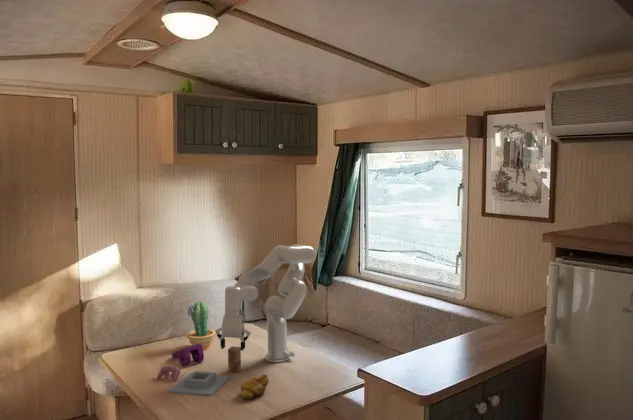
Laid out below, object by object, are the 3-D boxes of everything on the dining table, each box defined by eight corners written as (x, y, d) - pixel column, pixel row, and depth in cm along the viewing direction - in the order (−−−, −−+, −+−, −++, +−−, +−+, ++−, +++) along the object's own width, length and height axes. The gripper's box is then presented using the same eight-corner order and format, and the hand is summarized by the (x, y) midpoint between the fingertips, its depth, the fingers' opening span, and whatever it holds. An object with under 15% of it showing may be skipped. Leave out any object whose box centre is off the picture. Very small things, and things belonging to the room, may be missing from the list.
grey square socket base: (230, 377, 234) (230, 369, 233) (212, 396, 214) (211, 387, 214) (189, 374, 238) (189, 366, 238) (168, 392, 218) (168, 383, 218)
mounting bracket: (172, 372, 257) (187, 365, 245) (168, 355, 259) (183, 347, 247) (189, 367, 263) (205, 360, 251) (185, 350, 266) (201, 343, 253)
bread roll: (250, 403, 207) (249, 384, 207) (233, 397, 213) (232, 378, 212) (271, 392, 217) (270, 373, 217) (254, 387, 223) (254, 369, 223)
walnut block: (240, 369, 243) (240, 347, 243) (237, 373, 239) (237, 350, 238) (232, 369, 244) (231, 346, 244) (228, 372, 240) (227, 349, 239)
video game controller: (179, 382, 232) (183, 367, 235) (174, 381, 228) (177, 365, 231) (161, 380, 235) (164, 364, 238) (155, 379, 231) (159, 363, 234)
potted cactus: (193, 342, 284) (192, 298, 282) (220, 343, 282) (219, 298, 280) (182, 352, 269) (180, 305, 267) (210, 353, 267) (209, 305, 265)
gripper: (253, 312, 241) (252, 348, 242) (219, 309, 245) (218, 345, 246) (247, 316, 234) (247, 352, 235) (212, 313, 238) (212, 349, 239)
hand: (232, 348), depth 240 cm, fingers open, 9 cm apart
